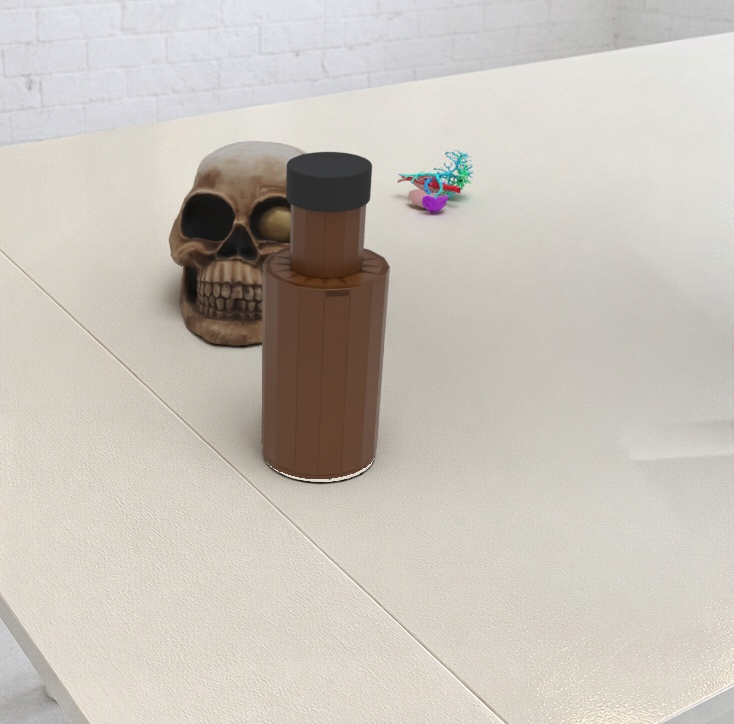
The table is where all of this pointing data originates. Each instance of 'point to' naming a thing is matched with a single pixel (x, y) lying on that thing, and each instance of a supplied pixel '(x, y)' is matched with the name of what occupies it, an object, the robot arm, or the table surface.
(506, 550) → the table surface
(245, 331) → the brown skull
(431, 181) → the anatomy model
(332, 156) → the bung
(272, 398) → the bottle
